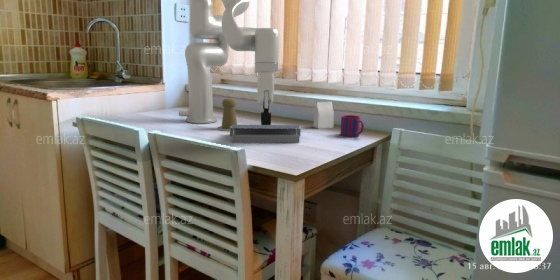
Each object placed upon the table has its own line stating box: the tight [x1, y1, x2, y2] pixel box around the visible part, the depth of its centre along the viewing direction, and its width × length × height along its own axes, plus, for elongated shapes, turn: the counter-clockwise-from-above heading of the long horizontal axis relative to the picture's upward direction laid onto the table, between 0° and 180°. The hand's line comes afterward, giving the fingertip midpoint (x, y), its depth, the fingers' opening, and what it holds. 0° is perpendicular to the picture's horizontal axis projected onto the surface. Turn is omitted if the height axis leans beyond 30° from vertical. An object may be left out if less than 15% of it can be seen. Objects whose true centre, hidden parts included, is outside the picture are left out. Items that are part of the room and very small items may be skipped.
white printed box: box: [313, 101, 335, 130], centre depth 161 cm, size 4×7×10 cm, turn 114°
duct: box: [229, 126, 302, 144], centre depth 141 cm, size 12×25×3 cm, turn 93°
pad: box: [216, 125, 230, 132], centre depth 157 cm, size 10×10×1 cm
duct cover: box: [232, 124, 301, 129], centre depth 140 cm, size 12×22×1 cm, turn 93°
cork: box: [221, 98, 238, 129], centre depth 156 cm, size 6×6×11 cm
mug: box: [340, 114, 365, 138], centre depth 147 cm, size 7×10×7 cm
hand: (265, 124), depth 136 cm, fingers closed
